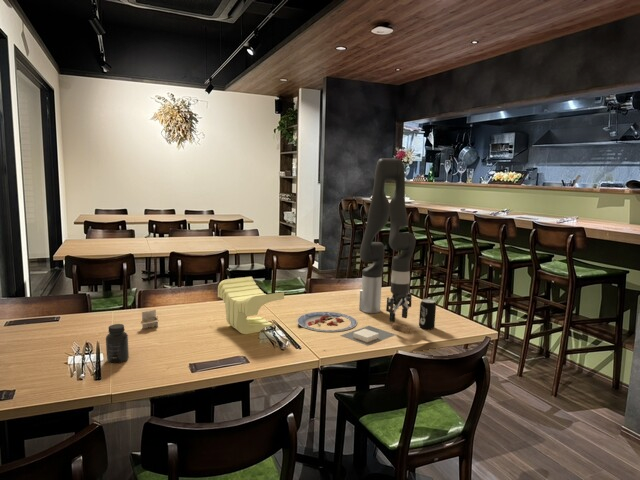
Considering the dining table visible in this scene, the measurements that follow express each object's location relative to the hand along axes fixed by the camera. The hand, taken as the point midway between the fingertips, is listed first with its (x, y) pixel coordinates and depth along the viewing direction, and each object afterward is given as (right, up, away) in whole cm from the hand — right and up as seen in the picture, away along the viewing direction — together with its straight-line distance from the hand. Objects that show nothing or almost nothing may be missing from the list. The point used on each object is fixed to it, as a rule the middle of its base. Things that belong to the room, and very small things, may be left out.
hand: (398, 319), depth 187 cm
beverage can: (+14, -5, +9) cm, 17 cm away
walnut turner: (-1, -5, +2) cm, 6 cm away
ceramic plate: (-29, -4, +8) cm, 31 cm away
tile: (-17, -4, -8) cm, 19 cm away
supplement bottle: (-101, -8, -33) cm, 107 cm away
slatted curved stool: (-62, -4, +2) cm, 62 cm away
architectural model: (-102, -4, -1) cm, 102 cm away
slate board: (-13, -6, -7) cm, 16 cm away
